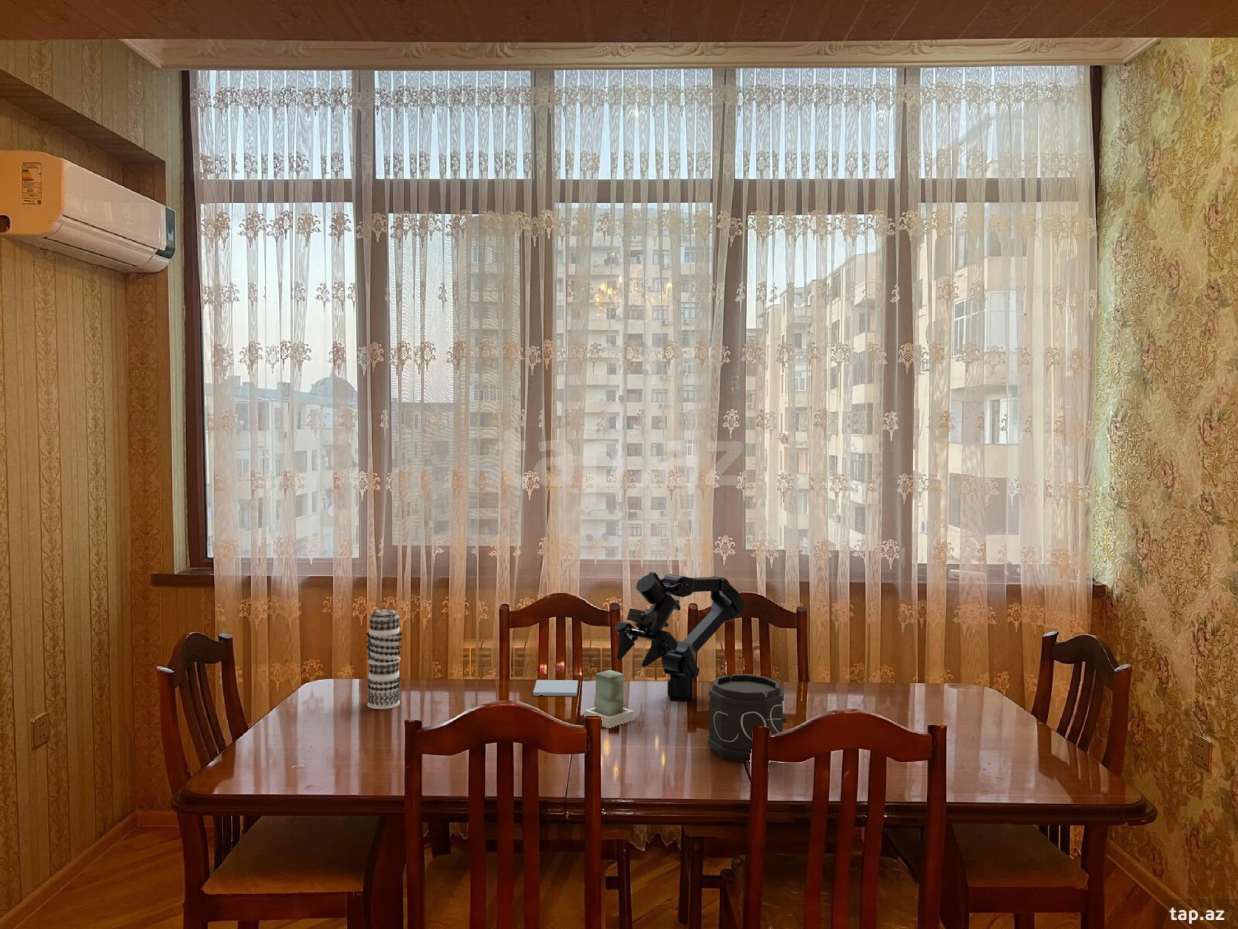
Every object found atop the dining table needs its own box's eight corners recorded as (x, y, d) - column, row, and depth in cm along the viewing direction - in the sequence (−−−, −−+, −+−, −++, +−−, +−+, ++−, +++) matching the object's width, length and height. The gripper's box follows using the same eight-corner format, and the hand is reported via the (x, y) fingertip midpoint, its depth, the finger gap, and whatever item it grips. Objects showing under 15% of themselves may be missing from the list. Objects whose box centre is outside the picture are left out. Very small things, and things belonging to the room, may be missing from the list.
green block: (609, 715, 225) (609, 669, 224) (622, 720, 221) (623, 673, 221) (595, 720, 221) (595, 673, 221) (609, 725, 218) (609, 677, 217)
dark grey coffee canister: (785, 768, 191) (787, 697, 190) (704, 760, 195) (705, 691, 194) (786, 740, 209) (788, 675, 208) (712, 734, 212) (713, 670, 212)
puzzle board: (609, 712, 227) (609, 702, 227) (634, 720, 221) (634, 710, 221) (584, 720, 221) (584, 710, 221) (609, 728, 215) (609, 718, 215)
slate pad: (577, 683, 253) (577, 680, 253) (576, 696, 241) (576, 692, 241) (536, 683, 253) (536, 680, 253) (533, 695, 241) (533, 692, 241)
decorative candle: (396, 710, 226) (397, 614, 226) (361, 709, 227) (361, 614, 226) (405, 699, 236) (406, 607, 235) (371, 698, 236) (372, 607, 235)
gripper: (619, 591, 236) (589, 639, 229) (670, 601, 223) (640, 652, 216) (639, 615, 242) (611, 662, 235) (690, 626, 229) (662, 676, 222)
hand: (630, 662), depth 227 cm, fingers open, 9 cm apart
